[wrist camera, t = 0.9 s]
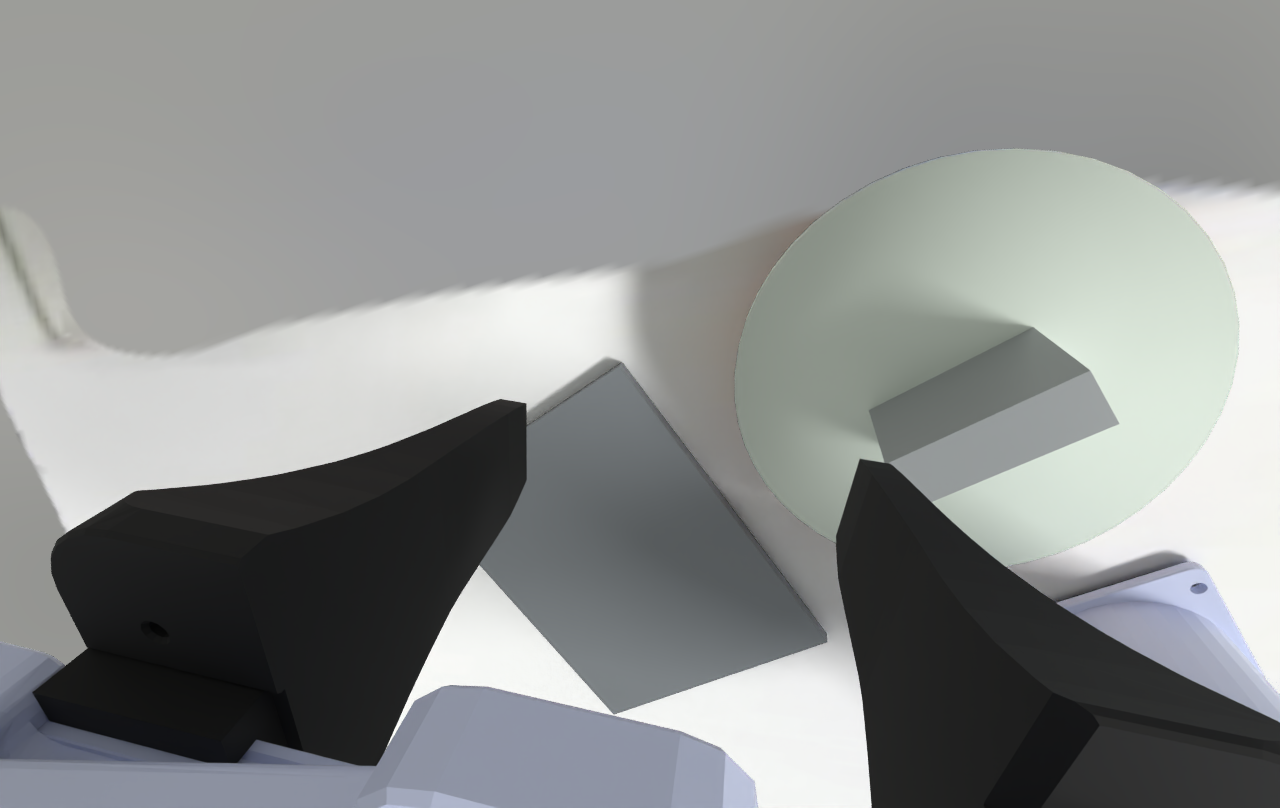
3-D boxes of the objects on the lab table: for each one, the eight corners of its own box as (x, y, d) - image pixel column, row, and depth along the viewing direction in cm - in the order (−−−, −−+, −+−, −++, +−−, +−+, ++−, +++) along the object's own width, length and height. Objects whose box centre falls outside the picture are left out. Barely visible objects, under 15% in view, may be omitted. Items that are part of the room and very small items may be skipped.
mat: (826, 633, 27) (827, 642, 27) (616, 706, 32) (613, 714, 32) (622, 362, 24) (618, 366, 23) (425, 493, 29) (420, 498, 29)
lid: (1300, 453, 17) (1442, 539, 13) (862, 608, 22) (877, 699, 19) (1099, 25, 14) (1208, -16, 10) (657, 325, 20) (627, 367, 16)
